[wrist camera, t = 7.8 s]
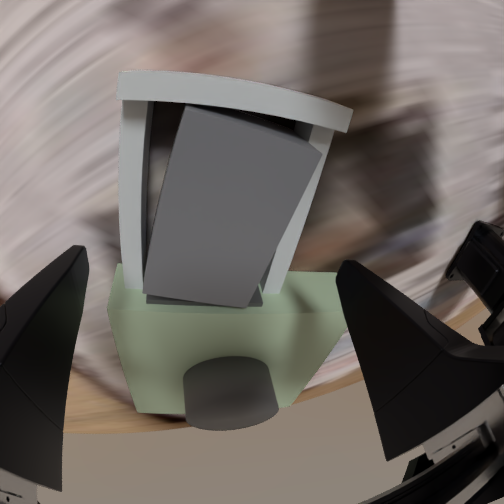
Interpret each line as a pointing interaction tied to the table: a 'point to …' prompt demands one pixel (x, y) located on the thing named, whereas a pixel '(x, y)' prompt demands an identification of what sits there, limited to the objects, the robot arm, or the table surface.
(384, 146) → the table surface
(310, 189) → the green block with frame
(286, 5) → the table surface
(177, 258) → the gray rectangular prism
